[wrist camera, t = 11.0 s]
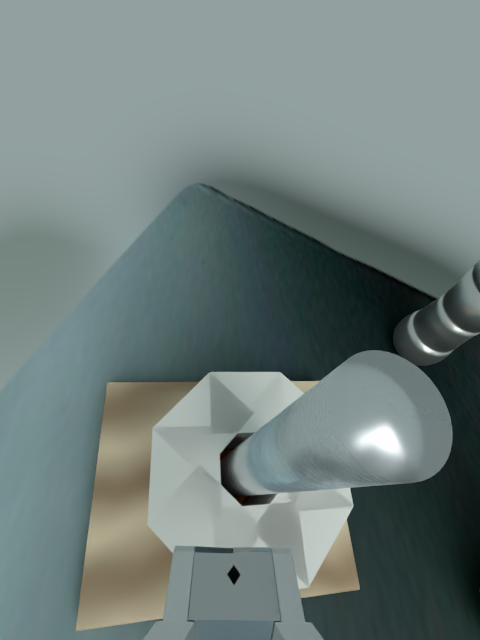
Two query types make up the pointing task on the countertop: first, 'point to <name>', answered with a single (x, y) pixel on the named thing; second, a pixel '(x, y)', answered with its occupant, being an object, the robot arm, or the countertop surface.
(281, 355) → the countertop surface
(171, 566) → the robot arm
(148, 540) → the oak base board
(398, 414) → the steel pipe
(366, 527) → the countertop surface
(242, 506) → the sleeve
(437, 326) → the plastic bottle
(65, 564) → the countertop surface
